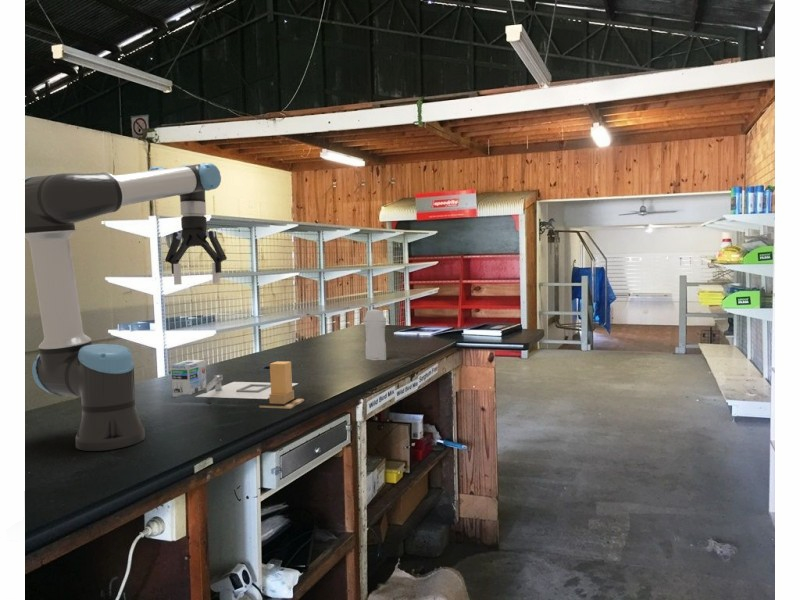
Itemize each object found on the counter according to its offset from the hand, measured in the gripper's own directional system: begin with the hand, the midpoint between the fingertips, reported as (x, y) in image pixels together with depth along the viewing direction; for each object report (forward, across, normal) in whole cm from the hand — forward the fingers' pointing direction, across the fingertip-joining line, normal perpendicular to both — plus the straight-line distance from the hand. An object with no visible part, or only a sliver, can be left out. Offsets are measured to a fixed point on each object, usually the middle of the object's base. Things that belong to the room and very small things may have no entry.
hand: (196, 284), depth 189 cm
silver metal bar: (+32, -4, 0) cm, 33 cm away
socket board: (+37, -10, -11) cm, 40 cm away
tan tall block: (+36, -29, +3) cm, 46 cm away
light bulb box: (+37, +9, -7) cm, 39 cm away
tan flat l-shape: (+37, -29, +3) cm, 47 cm away
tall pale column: (+37, -34, -81) cm, 95 cm away
